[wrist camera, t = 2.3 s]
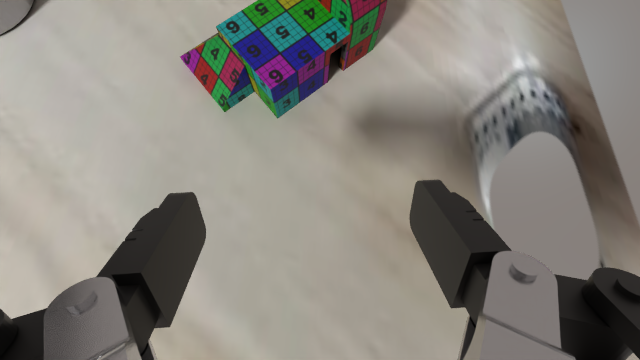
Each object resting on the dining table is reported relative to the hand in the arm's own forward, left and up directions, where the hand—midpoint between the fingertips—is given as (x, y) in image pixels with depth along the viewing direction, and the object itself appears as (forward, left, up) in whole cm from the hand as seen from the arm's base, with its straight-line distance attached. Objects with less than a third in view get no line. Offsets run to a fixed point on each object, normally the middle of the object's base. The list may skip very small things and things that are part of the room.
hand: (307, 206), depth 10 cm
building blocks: (-2, +16, -14) cm, 21 cm away
